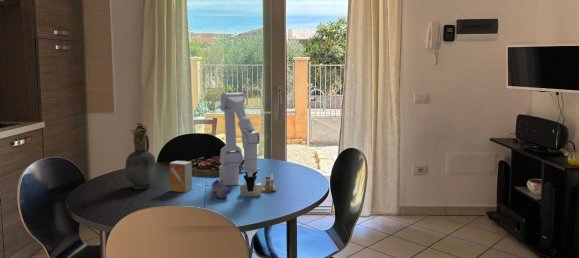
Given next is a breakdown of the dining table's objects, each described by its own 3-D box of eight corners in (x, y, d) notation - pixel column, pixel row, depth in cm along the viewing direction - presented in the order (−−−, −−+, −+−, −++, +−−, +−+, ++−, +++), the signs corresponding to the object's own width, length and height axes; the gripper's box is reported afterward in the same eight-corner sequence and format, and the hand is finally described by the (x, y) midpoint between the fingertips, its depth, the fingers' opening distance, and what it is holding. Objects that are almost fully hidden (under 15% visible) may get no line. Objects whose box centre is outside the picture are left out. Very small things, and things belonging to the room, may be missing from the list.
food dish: (232, 163, 287) (232, 150, 286) (258, 175, 259) (258, 161, 258) (173, 167, 269) (174, 153, 268) (195, 181, 241) (195, 166, 240)
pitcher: (123, 191, 219) (121, 125, 214) (138, 181, 238) (136, 120, 233) (147, 192, 218) (145, 125, 214) (160, 181, 237) (158, 120, 233)
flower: (214, 188, 201) (224, 174, 208) (201, 193, 205) (210, 179, 213) (227, 204, 204) (236, 189, 211) (213, 208, 208) (222, 194, 216)
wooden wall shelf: (246, 192, 220) (246, 179, 219) (247, 185, 230) (247, 173, 230) (275, 191, 220) (275, 179, 219) (275, 185, 231) (275, 173, 230)
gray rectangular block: (240, 196, 213) (240, 185, 213) (240, 194, 217) (240, 183, 216) (260, 196, 214) (260, 185, 213) (261, 193, 217) (261, 183, 216)
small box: (169, 191, 220) (168, 162, 218) (176, 187, 226) (176, 160, 224) (185, 192, 218) (184, 164, 216) (192, 189, 224) (191, 161, 222)
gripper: (259, 162, 206) (259, 193, 208) (260, 155, 220) (260, 184, 222) (242, 162, 206) (242, 193, 207) (244, 155, 220) (244, 184, 222)
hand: (250, 189), depth 215 cm, fingers open, 7 cm apart
